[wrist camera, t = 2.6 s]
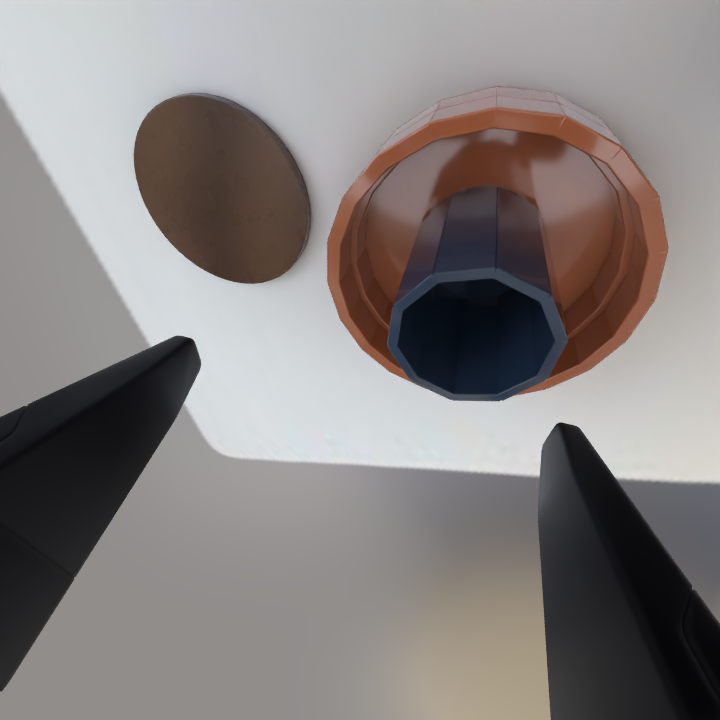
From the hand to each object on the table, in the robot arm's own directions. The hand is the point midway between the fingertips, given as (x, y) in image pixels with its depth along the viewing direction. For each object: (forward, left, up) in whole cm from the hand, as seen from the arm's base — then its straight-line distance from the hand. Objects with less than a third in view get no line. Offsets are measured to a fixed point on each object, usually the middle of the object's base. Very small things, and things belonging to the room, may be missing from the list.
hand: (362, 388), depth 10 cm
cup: (-3, +2, -13) cm, 13 cm away
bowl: (-3, +2, -13) cm, 14 cm away
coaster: (+11, +2, -13) cm, 17 cm away
